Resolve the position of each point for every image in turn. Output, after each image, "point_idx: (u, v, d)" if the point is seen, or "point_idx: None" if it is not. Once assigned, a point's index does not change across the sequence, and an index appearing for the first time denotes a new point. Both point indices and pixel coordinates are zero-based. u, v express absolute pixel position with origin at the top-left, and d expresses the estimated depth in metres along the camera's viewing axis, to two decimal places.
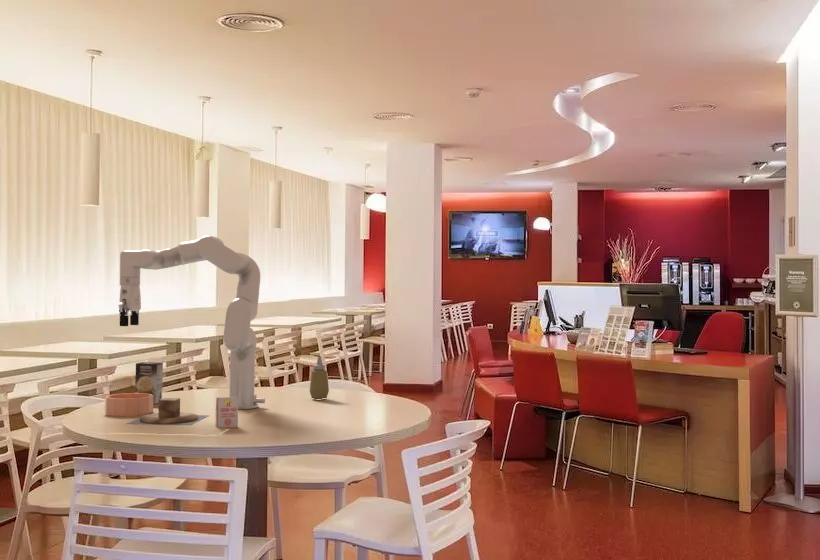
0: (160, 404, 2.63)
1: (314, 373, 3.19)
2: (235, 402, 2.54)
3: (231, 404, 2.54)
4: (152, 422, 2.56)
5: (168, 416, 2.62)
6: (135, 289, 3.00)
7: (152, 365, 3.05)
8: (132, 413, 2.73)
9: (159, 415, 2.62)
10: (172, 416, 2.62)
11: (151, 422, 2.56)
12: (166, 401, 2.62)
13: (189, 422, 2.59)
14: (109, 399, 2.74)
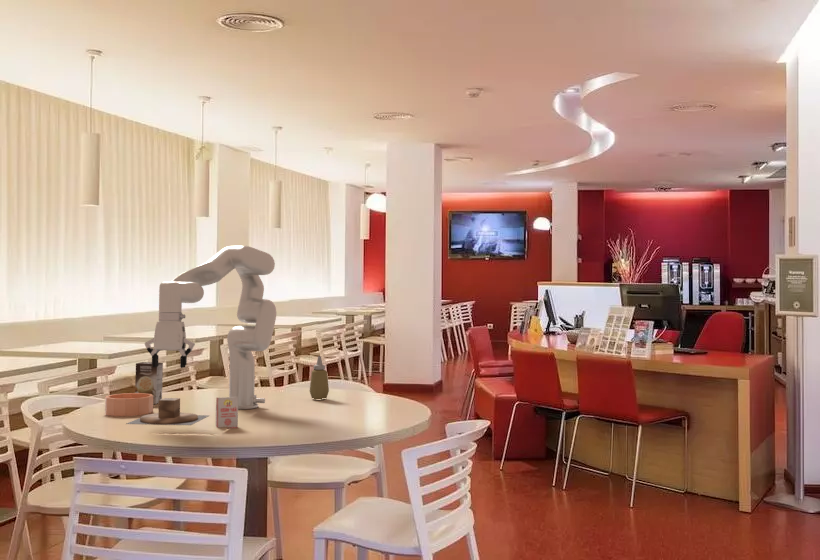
0: (160, 404, 2.63)
1: (314, 373, 3.19)
2: (235, 402, 2.54)
3: (231, 404, 2.54)
4: (152, 422, 2.56)
5: (168, 416, 2.62)
6: None
7: (152, 365, 3.05)
8: (132, 413, 2.73)
9: (159, 415, 2.62)
10: (172, 416, 2.62)
11: (151, 422, 2.56)
12: (166, 401, 2.62)
13: (189, 422, 2.59)
14: (109, 399, 2.74)
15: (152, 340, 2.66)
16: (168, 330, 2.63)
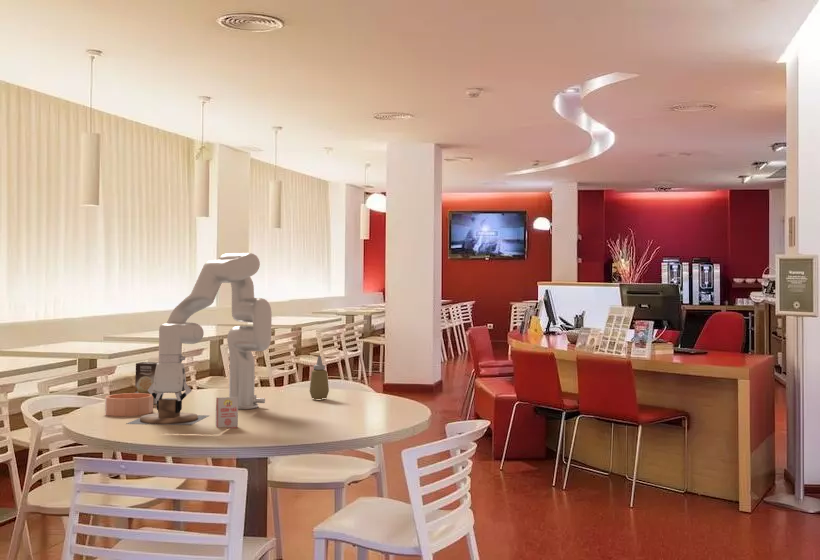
0: (160, 404, 2.63)
1: (314, 373, 3.19)
2: (235, 402, 2.54)
3: (231, 404, 2.54)
4: (152, 422, 2.56)
5: (168, 416, 2.62)
6: None
7: (152, 365, 3.05)
8: (132, 413, 2.73)
9: (159, 415, 2.62)
10: (172, 416, 2.62)
11: (151, 422, 2.56)
12: (166, 401, 2.62)
13: (189, 422, 2.59)
14: (109, 399, 2.74)
15: (154, 384, 2.65)
16: (168, 372, 2.63)
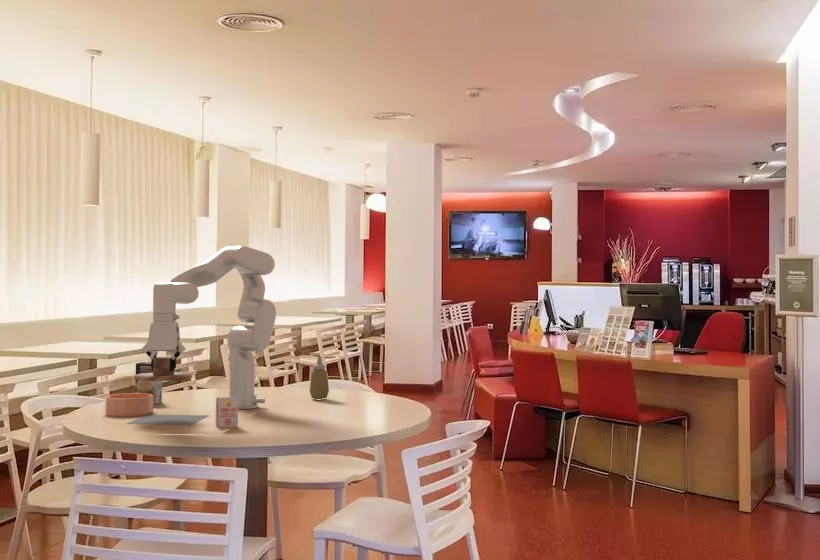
0: (154, 362, 2.65)
1: (314, 373, 3.19)
2: (235, 402, 2.54)
3: (231, 404, 2.54)
4: (147, 379, 2.59)
5: (163, 374, 2.65)
6: None
7: None
8: (132, 413, 2.73)
9: (154, 373, 2.65)
10: (167, 374, 2.65)
11: (146, 379, 2.59)
12: (160, 359, 2.65)
13: (189, 422, 2.59)
14: (109, 399, 2.74)
15: None
16: (162, 331, 2.65)
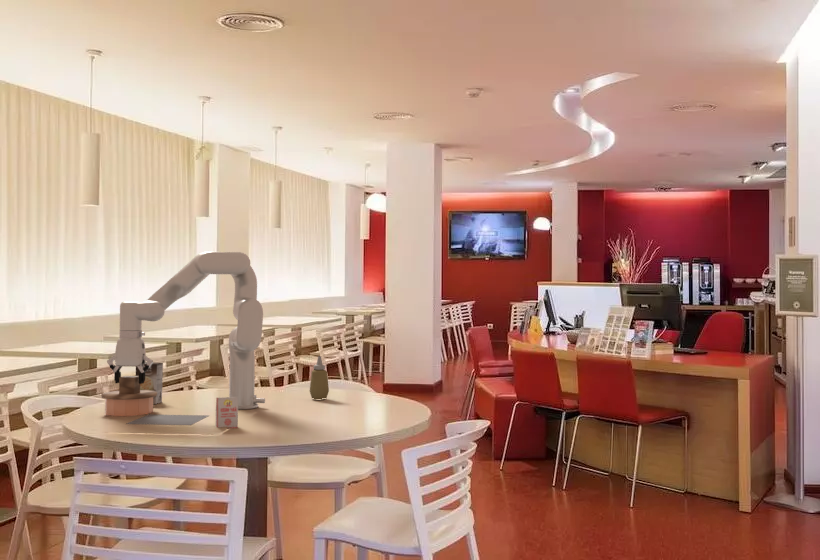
0: (121, 381, 2.78)
1: (314, 373, 3.19)
2: (235, 402, 2.54)
3: (231, 404, 2.54)
4: (112, 398, 2.71)
5: (128, 392, 2.77)
6: None
7: (152, 365, 3.05)
8: (132, 413, 2.73)
9: (120, 391, 2.78)
10: (132, 392, 2.77)
11: (111, 398, 2.71)
12: (126, 378, 2.78)
13: (189, 422, 2.59)
14: (109, 399, 2.74)
15: (114, 357, 2.80)
16: (128, 347, 2.78)
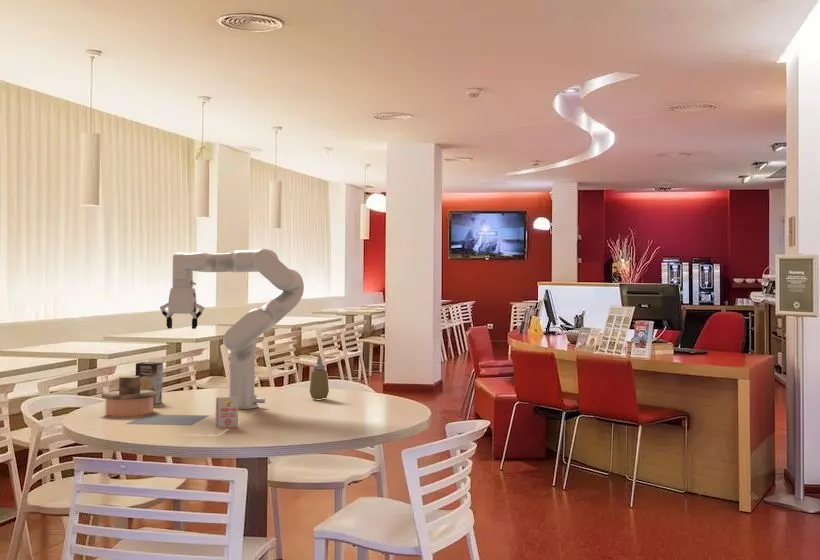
0: (121, 381, 2.78)
1: (314, 373, 3.19)
2: (235, 402, 2.54)
3: (231, 404, 2.54)
4: (112, 398, 2.71)
5: (128, 392, 2.77)
6: None
7: (152, 365, 3.05)
8: (132, 413, 2.73)
9: (120, 391, 2.78)
10: (132, 392, 2.77)
11: (111, 398, 2.71)
12: (126, 378, 2.78)
13: (189, 422, 2.59)
14: (109, 399, 2.74)
15: (166, 304, 3.00)
16: (181, 295, 2.98)
